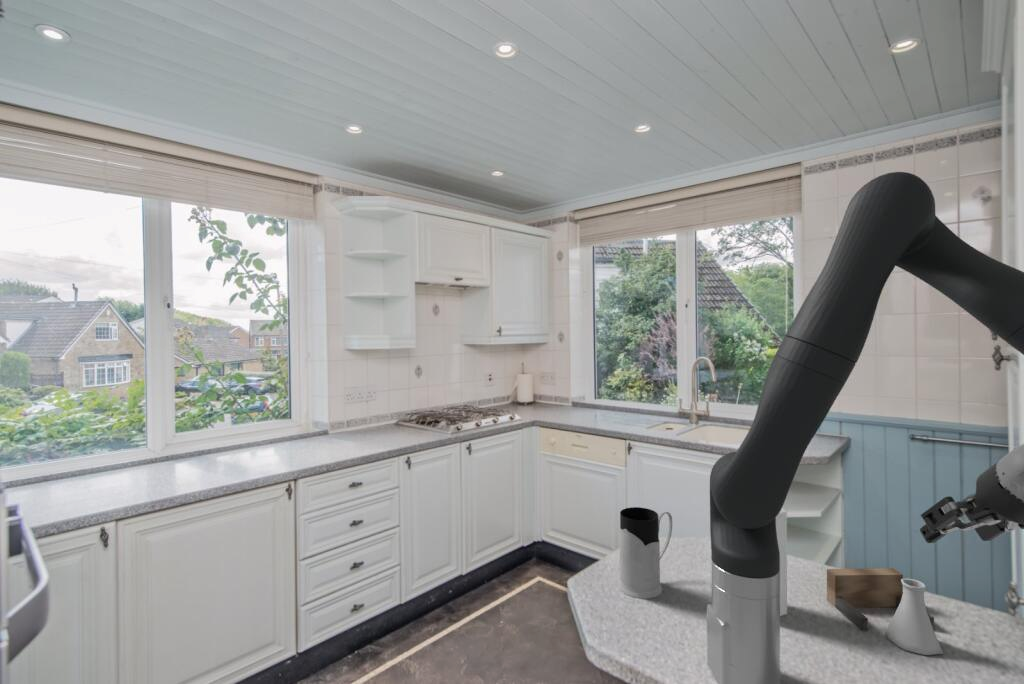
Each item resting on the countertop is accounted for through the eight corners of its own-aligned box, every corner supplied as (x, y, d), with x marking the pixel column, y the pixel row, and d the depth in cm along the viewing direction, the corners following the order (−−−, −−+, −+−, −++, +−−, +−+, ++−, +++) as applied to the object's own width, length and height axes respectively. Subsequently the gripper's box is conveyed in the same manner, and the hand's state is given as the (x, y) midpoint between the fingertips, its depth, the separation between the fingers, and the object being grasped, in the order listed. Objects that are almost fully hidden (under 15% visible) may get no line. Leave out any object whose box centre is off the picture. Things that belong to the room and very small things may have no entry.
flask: (953, 659, 78) (953, 596, 78) (900, 654, 80) (900, 592, 79) (925, 632, 85) (925, 574, 85) (877, 627, 87) (877, 570, 87)
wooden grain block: (860, 629, 86) (860, 595, 86) (826, 599, 96) (826, 568, 95) (933, 629, 86) (934, 594, 86) (892, 599, 95) (892, 568, 95)
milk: (736, 605, 95) (734, 488, 94) (761, 598, 97) (759, 484, 96) (763, 622, 89) (761, 498, 88) (788, 614, 91) (786, 494, 91)
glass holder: (608, 584, 103) (607, 512, 102) (655, 565, 111) (654, 498, 110) (641, 603, 96) (640, 525, 95) (689, 581, 103) (688, 509, 103)
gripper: (1065, 453, 66) (982, 509, 77) (958, 457, 65) (891, 513, 77) (1115, 507, 60) (1018, 559, 72) (999, 512, 60) (920, 563, 72)
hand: (952, 535), depth 75 cm, fingers open, 8 cm apart
